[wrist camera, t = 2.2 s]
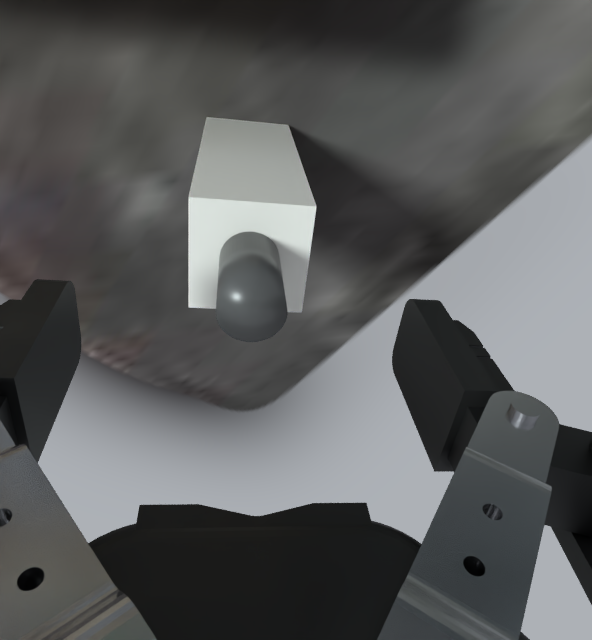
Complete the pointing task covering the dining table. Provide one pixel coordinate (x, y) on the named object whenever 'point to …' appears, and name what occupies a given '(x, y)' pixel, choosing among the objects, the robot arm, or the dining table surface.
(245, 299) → the plug
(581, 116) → the dining table surface
